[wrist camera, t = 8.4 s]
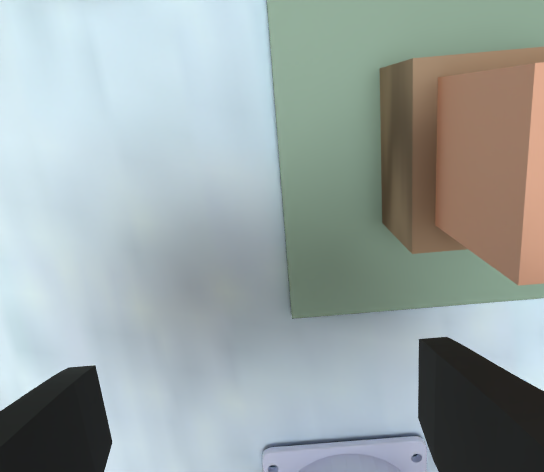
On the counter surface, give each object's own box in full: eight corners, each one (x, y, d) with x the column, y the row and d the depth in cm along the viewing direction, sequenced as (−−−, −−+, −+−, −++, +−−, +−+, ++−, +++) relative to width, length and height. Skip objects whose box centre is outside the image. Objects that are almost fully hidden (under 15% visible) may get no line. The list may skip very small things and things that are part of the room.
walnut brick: (528, 210, 19) (596, 238, 15) (382, 222, 19) (412, 254, 15) (540, 54, 17) (621, 39, 13) (379, 68, 17) (412, 58, 13)
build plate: (603, 287, 20) (613, 292, 20) (291, 312, 20) (292, 318, 20) (651, -74, 16) (666, -80, 16) (263, -38, 16) (263, -43, 16)
